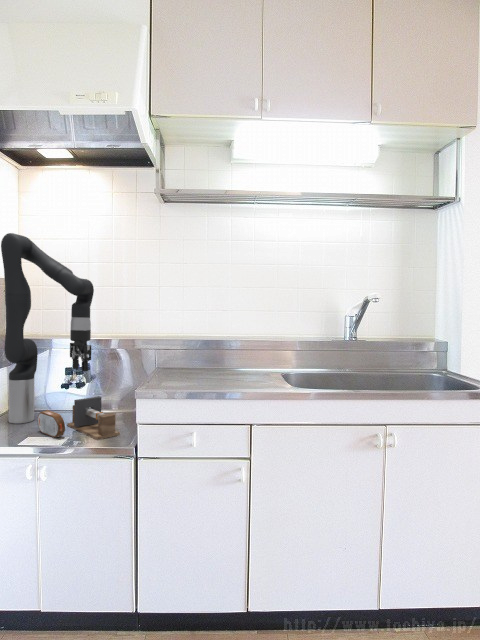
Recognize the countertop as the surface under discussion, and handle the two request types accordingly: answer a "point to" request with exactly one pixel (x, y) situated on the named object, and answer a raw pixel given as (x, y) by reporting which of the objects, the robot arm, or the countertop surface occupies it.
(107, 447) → the countertop surface
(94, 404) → the dark grey square plate
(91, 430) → the rod stand
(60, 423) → the tin
